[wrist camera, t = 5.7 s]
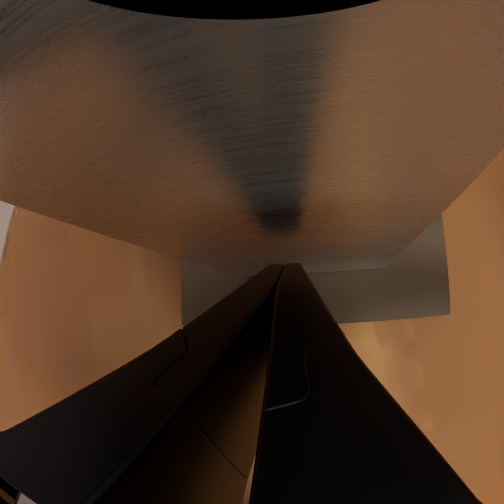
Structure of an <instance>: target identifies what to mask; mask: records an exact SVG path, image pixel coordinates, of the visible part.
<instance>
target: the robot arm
mask: <svg viewBox="0 0 504 504" xmlns="http://www.w3.org/2000/svg"><path fill="white" fill-rule="evenodd" d="M255 454H256V457H255ZM254 457H255V464H254V472H253V479H252V486H251V493H250V499H249V504H483V503H482V502H480V501H479V500H478V499H477V498H476V497H475V495H474V494H473V493H472V492H471V490H470V489H469V488H468V487H467V486H466V484H465V483H464V482H463V481H462V479H461V478H460V477H459V476H458V475H457V473H456V472H455V471H454V470H453V469H452V467H451V466H450V465H449V464H448V463H447V461H446V460H445V459H444V458H443V457H442V455H441V454H440V453H439V452H438V450H437V449H436V448H435V447H434V446H433V444H432V443H431V442H430V441H429V440H428V439H427V437H426V436H425V435H424V434H423V433H422V431H421V430H420V429H419V428H418V427H417V425H416V424H415V423H414V422H413V421H412V419H411V418H410V417H409V416H408V415H407V413H406V412H405V411H404V410H403V409H402V408H401V406H400V405H399V404H398V403H397V402H396V400H395V399H394V398H393V397H392V396H391V395H390V393H389V392H388V391H387V390H386V389H385V387H384V386H383V385H382V384H381V383H380V382H379V380H378V379H377V378H376V377H375V376H374V375H373V373H372V372H371V371H370V370H369V369H368V367H367V366H366V365H365V364H364V362H363V361H362V360H361V359H360V357H359V356H358V355H357V353H356V352H355V351H354V349H353V347H352V346H351V344H350V343H349V341H348V340H347V338H346V337H345V335H344V333H343V332H342V330H341V329H340V328H339V326H338V324H337V322H336V321H335V319H334V317H333V316H332V314H331V312H330V311H329V309H328V307H327V306H326V304H325V302H324V301H323V299H322V297H321V296H320V294H319V293H318V291H317V289H316V288H315V286H314V284H313V283H312V281H311V279H310V278H309V276H308V275H307V273H306V271H305V270H304V268H303V267H302V265H301V264H300V263H287V264H285V265H284V264H270V265H268V266H267V267H265V268H264V269H263V270H261V271H260V272H259V273H257V274H256V275H255V276H253V277H252V278H251V279H249V280H248V281H246V282H245V283H244V284H242V285H241V286H240V287H238V288H237V289H235V290H234V291H233V292H231V293H230V294H229V295H227V296H226V297H224V298H223V299H222V300H220V301H219V302H218V303H216V304H215V305H213V306H212V307H211V308H209V309H208V310H207V311H205V312H204V313H202V314H201V315H200V316H198V317H197V318H195V319H194V320H193V321H191V322H190V323H188V324H187V325H186V326H184V327H183V330H182V329H179V330H178V331H176V332H175V333H174V334H172V335H171V336H169V337H168V338H166V339H165V340H163V341H162V342H160V343H159V344H157V345H156V346H154V347H153V348H152V349H150V350H148V351H147V352H145V353H143V354H142V355H140V356H138V357H137V358H135V359H133V360H132V361H130V362H128V363H127V364H125V365H123V366H121V367H120V368H118V369H116V370H115V371H113V372H111V373H109V374H108V375H106V376H104V377H102V378H101V379H99V380H97V381H95V382H94V383H92V384H90V385H88V386H86V387H85V388H83V389H81V390H79V391H78V392H76V393H74V394H72V395H70V396H69V397H67V398H65V399H63V400H61V401H60V402H58V403H56V404H54V405H52V406H51V407H49V408H47V409H45V410H43V411H41V412H40V413H38V414H36V415H34V416H32V417H30V418H28V419H27V420H25V421H23V422H21V423H19V424H17V425H15V426H13V427H12V428H10V429H7V430H5V431H1V432H0V504H243V497H244V492H245V488H246V484H247V479H248V477H249V474H250V471H251V467H252V464H253V461H254Z"/></svg>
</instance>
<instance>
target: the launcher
mask: <svg viewBox="0 0 504 504" xmlns="http://www.w3.org/2000/svg"><path fill="white" fill-rule="evenodd" d="M307 275H308V276H309V278H310V279H311V281H312V283H313V284H314V286H315V288H316V289H317V291H318V293H319V294H320V296H321V297H322V299H323V301H324V302H325V304H326V306H327V307H328V309H329V311H330V312H331V314H332V316H333V317H334V319H335V321H336V322H337V323H354V322H369V321H383V320H395V319H407V318H418V317H428V316H437V315H446V314H450V298H449V280H448V267H447V257H446V247H445V239H444V231H443V224H442V217H441V215H440V216H439V217H438V218H437V219H436V220H435V221H433V222H432V223H431V224H430V225H429V226H428V227H427V228H426V229H425V230H424V231H423V232H422V233H421V234H420V235H419V236H418V237H417V238H416V239H414V240H413V241H412V242H411V243H410V244H409V245H408V246H407V247H406V248H405V249H404V250H402V251H401V252H400V253H399V254H398V255H397V256H396V257H395V258H394V259H392V260H391V261H390V262H389V263H388V264H387V265H386V266H384V267H383V268H376V269H362V270H346V271H331V272H314V273H307ZM252 277H253V276H238V275H234V274H231V273H227V272H224V271H220V270H217V269H214V268H210V267H207V266H203V265H200V264H197V263H193V262H190V261H187V260H183V259H182V325H187V324H188V323H190V322H191V321H193V320H194V319H195V318H197V317H198V316H200V315H201V314H202V313H204V312H205V311H207V310H208V309H209V308H211V307H212V306H213V305H215V304H216V303H218V302H219V301H220V300H222V299H223V298H224V297H226V296H227V295H229V294H230V293H231V292H233V291H234V290H235V289H237V288H238V287H240V286H241V285H242V284H244V283H245V282H246V281H248V280H249V279H251V278H252Z"/></svg>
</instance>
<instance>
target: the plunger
mask: <svg viewBox="0 0 504 504" xmlns="http://www.w3.org/2000/svg"><path fill="white" fill-rule="evenodd" d="M503 148H504V0H0V201H3V202H6V203H9V204H12V205H15V206H18V207H21V208H23V209H26V210H29V211H32V212H35V213H38V214H41V215H44V216H47V217H50V218H53V219H56V220H59V221H62V222H65V223H68V224H71V225H75V226H78V227H81V228H84V229H87V230H90V231H93V232H96V233H99V234H102V235H106V236H109V237H112V238H115V239H118V240H121V241H125V242H128V243H131V244H134V245H137V246H141V247H144V248H147V249H150V250H154V251H157V252H160V253H163V254H167V255H170V256H173V257H177V258H180V259H183V260H187V261H190V262H193V263H197V264H200V265H203V266H207V267H210V268H214V269H217V270H220V271H224V272H227V273H231V274H234V275H238V276H255V275H256V274H257V273H259V272H260V271H261V270H263V269H264V268H265V267H267V266H268V265H270V264H284V265H285V264H287V263H300V264H301V265H302V267H303V268H304V270H305V271H306V273H314V272H331V271H346V270H362V269H376V268H383V267H384V266H386V265H387V264H388V263H389V262H390V261H391V260H392V259H394V258H395V257H396V256H397V255H398V254H399V253H400V252H401V251H402V250H404V249H405V248H406V247H407V246H408V245H409V244H410V243H411V242H412V241H413V240H414V239H416V238H417V237H418V236H419V235H420V234H421V233H422V232H423V231H424V230H425V229H426V228H427V227H428V226H429V225H430V224H431V223H432V222H433V221H435V220H436V219H437V218H438V217H439V216H440V215H441V214H442V213H443V212H444V211H445V210H446V209H447V208H448V207H449V206H450V205H451V204H452V203H453V202H454V201H455V200H456V199H457V198H458V197H459V196H460V195H461V194H462V193H463V192H464V191H465V190H466V188H467V187H468V186H469V185H470V184H471V183H472V182H473V181H474V180H475V179H476V178H477V177H478V176H479V175H480V174H481V173H482V172H483V170H484V169H485V168H486V167H487V166H488V165H489V164H490V163H491V162H492V161H493V159H494V158H495V157H496V156H497V155H498V154H499V153H500V152H501V150H502V149H503Z"/></svg>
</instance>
